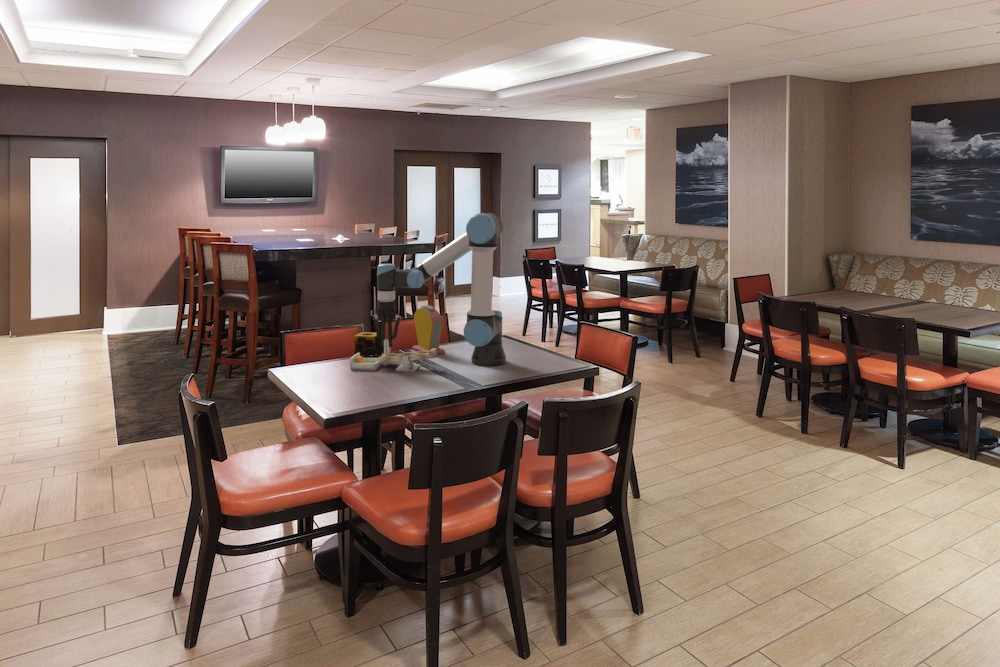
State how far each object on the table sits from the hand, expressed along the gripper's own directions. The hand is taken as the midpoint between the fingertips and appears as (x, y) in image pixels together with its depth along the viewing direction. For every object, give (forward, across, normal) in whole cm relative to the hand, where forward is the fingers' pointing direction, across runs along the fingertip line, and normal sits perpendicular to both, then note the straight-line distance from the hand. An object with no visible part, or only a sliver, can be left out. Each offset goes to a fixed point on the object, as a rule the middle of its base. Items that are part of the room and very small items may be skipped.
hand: (387, 354), depth 322 cm
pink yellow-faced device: (+4, -12, -27) cm, 30 cm away
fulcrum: (+4, -11, +7) cm, 14 cm away
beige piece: (+1, -11, +4) cm, 11 cm away
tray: (+4, +7, +7) cm, 11 cm away
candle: (+5, +13, -15) cm, 20 cm away
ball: (+2, +10, +7) cm, 12 cm away
